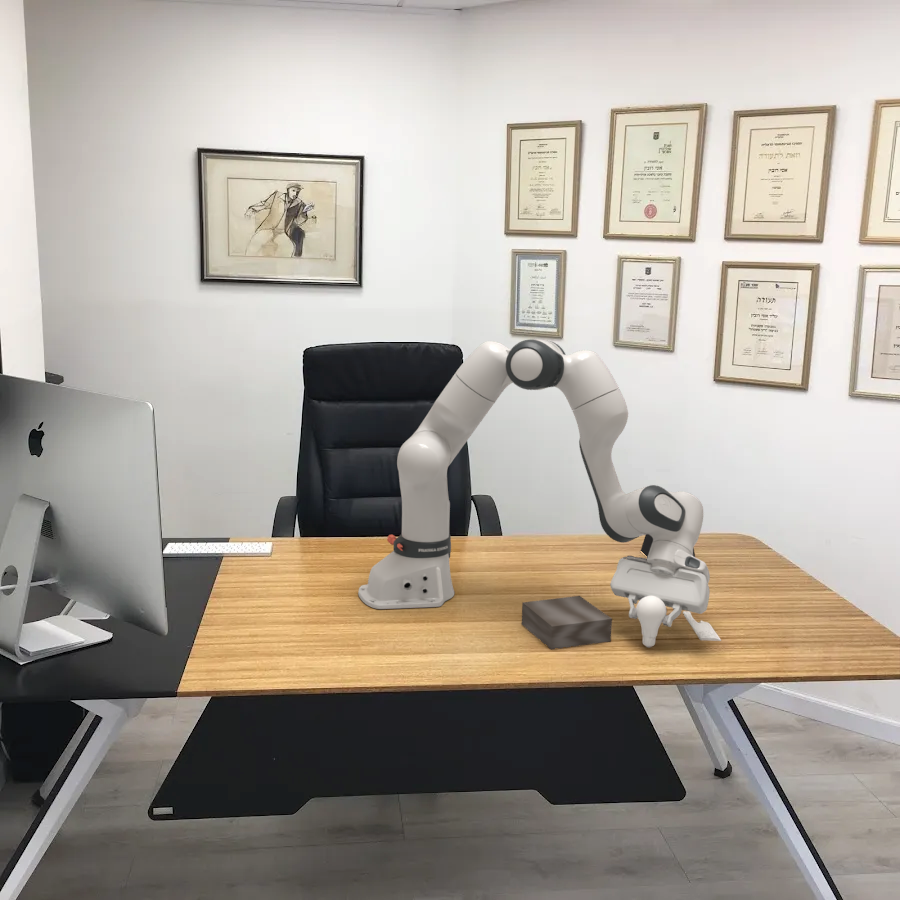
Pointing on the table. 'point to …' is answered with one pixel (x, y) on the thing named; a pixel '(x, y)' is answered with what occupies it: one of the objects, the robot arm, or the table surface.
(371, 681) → the table surface
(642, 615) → the lightbulb
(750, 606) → the table surface
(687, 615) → the white plastic blade
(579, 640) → the charcoal block
